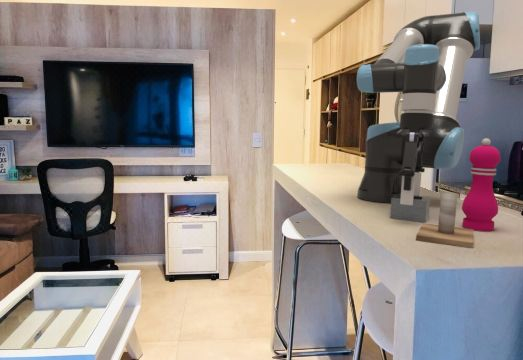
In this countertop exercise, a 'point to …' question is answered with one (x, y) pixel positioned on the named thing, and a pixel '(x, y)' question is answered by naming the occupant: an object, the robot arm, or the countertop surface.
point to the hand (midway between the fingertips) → (410, 200)
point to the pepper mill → (481, 189)
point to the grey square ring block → (410, 209)
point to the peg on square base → (446, 226)
